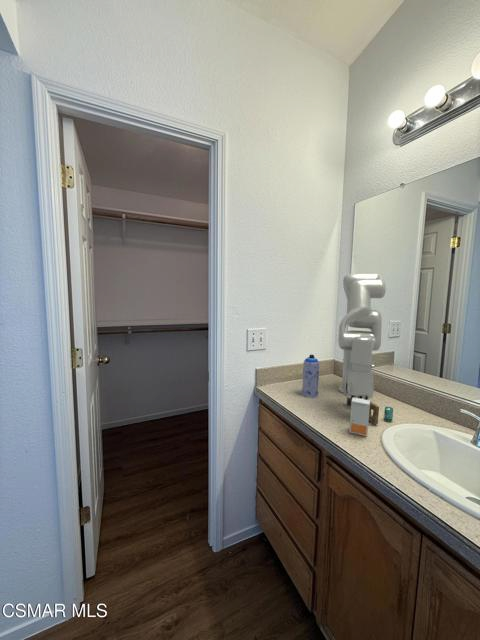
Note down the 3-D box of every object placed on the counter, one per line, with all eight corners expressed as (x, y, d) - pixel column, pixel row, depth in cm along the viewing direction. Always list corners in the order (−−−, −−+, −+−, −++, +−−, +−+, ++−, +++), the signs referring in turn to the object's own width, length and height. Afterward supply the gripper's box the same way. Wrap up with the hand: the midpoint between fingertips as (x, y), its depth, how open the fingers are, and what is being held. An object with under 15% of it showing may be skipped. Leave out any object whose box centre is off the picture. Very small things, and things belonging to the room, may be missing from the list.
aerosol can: (318, 398, 131) (320, 357, 129) (302, 396, 133) (303, 356, 131) (317, 392, 139) (319, 353, 137) (301, 391, 140) (303, 352, 138)
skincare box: (349, 432, 99) (350, 400, 98) (350, 427, 103) (352, 396, 102) (367, 437, 96) (369, 404, 95) (368, 431, 100) (370, 400, 99)
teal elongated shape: (349, 403, 126) (350, 382, 125) (393, 420, 109) (395, 396, 108) (345, 404, 124) (346, 383, 123) (389, 422, 107) (391, 397, 106)
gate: (350, 404, 122) (351, 390, 122) (352, 404, 123) (353, 390, 122) (374, 424, 105) (376, 407, 104) (377, 424, 105) (379, 406, 104)
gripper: (375, 365, 113) (372, 408, 114) (338, 364, 113) (336, 407, 115) (384, 370, 105) (381, 416, 107) (345, 369, 106) (342, 415, 107)
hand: (357, 411), depth 111 cm, fingers closed
